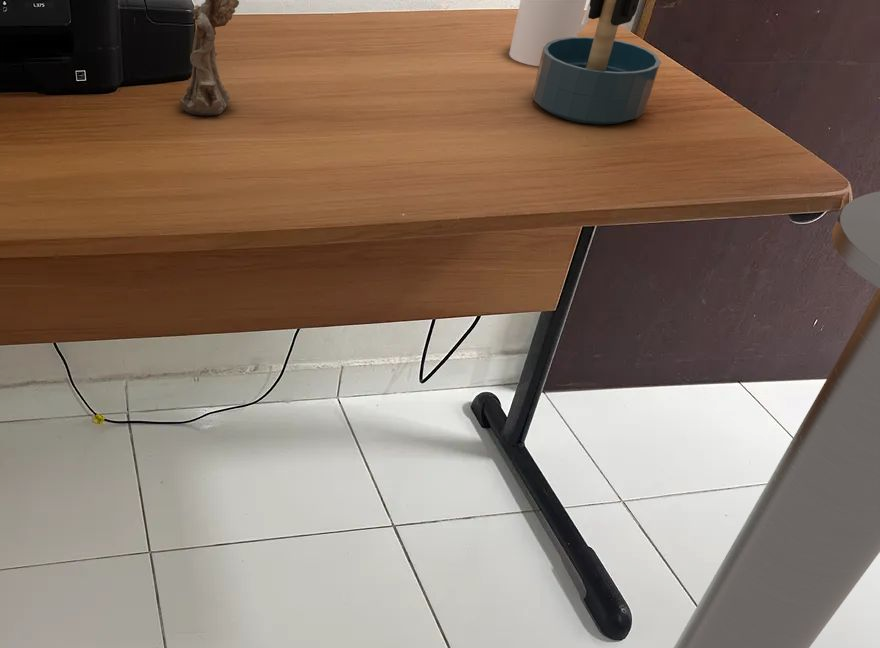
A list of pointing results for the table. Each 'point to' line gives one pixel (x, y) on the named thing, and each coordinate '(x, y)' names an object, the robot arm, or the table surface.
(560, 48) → the bowl
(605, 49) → the stick
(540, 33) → the cup
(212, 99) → the figurine
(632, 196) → the table surface
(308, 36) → the table surface
